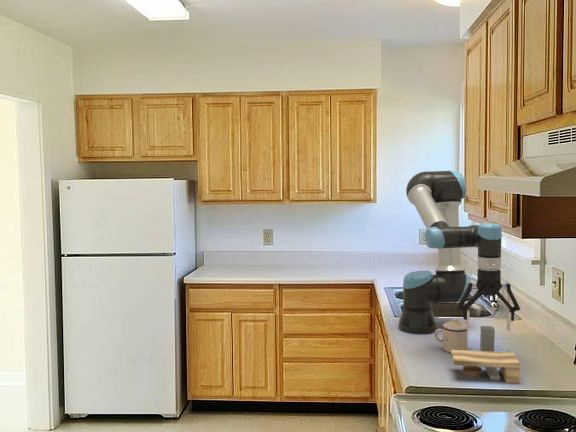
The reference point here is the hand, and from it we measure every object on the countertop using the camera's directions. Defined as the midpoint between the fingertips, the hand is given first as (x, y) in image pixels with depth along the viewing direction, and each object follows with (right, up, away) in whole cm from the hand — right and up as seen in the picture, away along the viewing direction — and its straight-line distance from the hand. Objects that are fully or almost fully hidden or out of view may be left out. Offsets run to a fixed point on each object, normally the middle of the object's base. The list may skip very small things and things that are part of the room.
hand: (488, 329), depth 202 cm
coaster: (-8, -13, -9) cm, 18 cm away
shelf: (-4, -13, -11) cm, 17 cm away
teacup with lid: (-9, -10, +14) cm, 20 cm away
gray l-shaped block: (-1, -12, -5) cm, 13 cm away
